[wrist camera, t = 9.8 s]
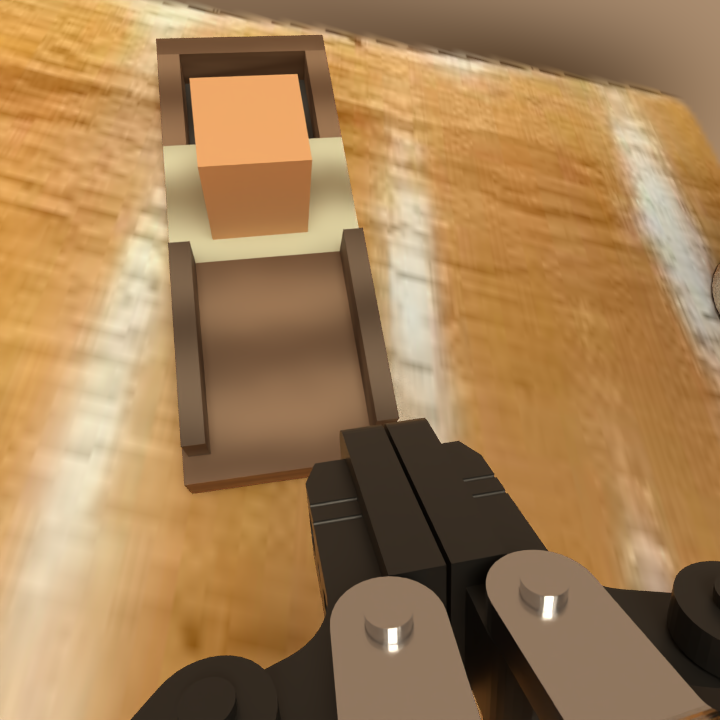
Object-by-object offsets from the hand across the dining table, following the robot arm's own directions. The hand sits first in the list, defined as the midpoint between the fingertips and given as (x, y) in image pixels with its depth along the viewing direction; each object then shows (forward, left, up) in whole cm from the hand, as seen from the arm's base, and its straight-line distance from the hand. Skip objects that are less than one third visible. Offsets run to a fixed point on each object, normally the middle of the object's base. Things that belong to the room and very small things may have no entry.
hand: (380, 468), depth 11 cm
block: (-12, -19, -23) cm, 32 cm away
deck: (-12, -17, -26) cm, 33 cm away
